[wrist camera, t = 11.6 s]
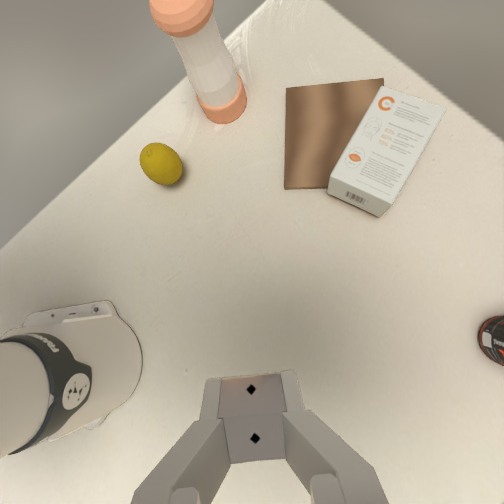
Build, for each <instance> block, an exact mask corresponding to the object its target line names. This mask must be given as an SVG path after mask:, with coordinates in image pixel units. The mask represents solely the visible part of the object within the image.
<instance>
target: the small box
mask: <svg viewBox="0 0 504 504" xmlns="http://www.w3.org/2000/svg"><path fill="white" fill-rule="evenodd" d="M446 110H447V109H446V108H443V107H440V106H438V105H435V104H432V103H430V102H427V101H424V100H422V99H420V98H418V97H415V96H412V95H409V94H405V93H402V92H399V91H396V90H393V89H391V88H388V87H385V86H381V87H380V89H379V90H378V92H377V94H376V96H375V98H374V99H373V101H372V103H371V105H370V106H369V108H368V110H367V112H366V113H365V115H364V117H363V119H362V120H361V122H360V124H359V126H358V127H357V129H356V131H355V132H354V134H353V136H352V138H351V139H350V141H349V143H348V144H347V146H346V148H345V150H344V151H343V153H342V155H341V157H340V159H339V160H338V162H337V164H336V166H335V167H334V169H333V171H332V173H331V175H330V180H329V185H328V190H327V193H328V194H330V195H333V196H335V197H337V198H339V199H341V200H344V201H346V202H348V203H350V204H352V205H355V206H357V207H359V208H361V209H363V210H365V211H367V212H369V213H372V214H374V215H375V216H377V217H381V216H382V214H383V213H384V212H385V211H386V210H387V209H388V208H389V207H390V206H391V205H392V204H393V203H394V201H395V199H396V198H397V196H398V194H399V192H400V191H401V189H402V187H403V186H404V184H405V182H406V180H407V179H408V177H409V175H410V174H411V172H412V170H413V168H414V167H415V165H416V163H417V161H418V159H419V158H420V156H421V154H422V152H423V151H424V149H425V147H426V145H427V143H428V142H429V140H430V138H431V136H432V135H433V133H434V131H435V129H436V128H437V126H438V124H439V122H440V121H441V119H442V117H443V115H444V114H445V112H446Z"/></svg>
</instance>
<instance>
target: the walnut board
mask: <svg viewBox="0 0 504 504" xmlns="http://www.w3.org/2000/svg"><path fill="white" fill-rule="evenodd" d="M381 86H384V78H379V79H370V80H360V81H350V82H340V83H330V84H321V85H311V86H301V87H291V88H286V130H285V179H284V189H285V190H286V189H317V188H328V185H329V180H330V175H331V173H332V171H333V169H334V167H335V166H336V164H337V162H338V160H339V159H340V157H341V155H342V153H343V151H344V150H345V148H346V146H347V144H348V143H349V141H350V139H351V138H352V136H353V134H354V132H355V131H356V129H357V127H358V126H359V124H360V122H361V120H362V119H363V117H364V115H365V113H366V112H367V110H368V108H369V106H370V105H371V103H372V101H373V99H374V98H375V96H376V94H377V92H378V90H379V89H380V87H381Z"/></svg>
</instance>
